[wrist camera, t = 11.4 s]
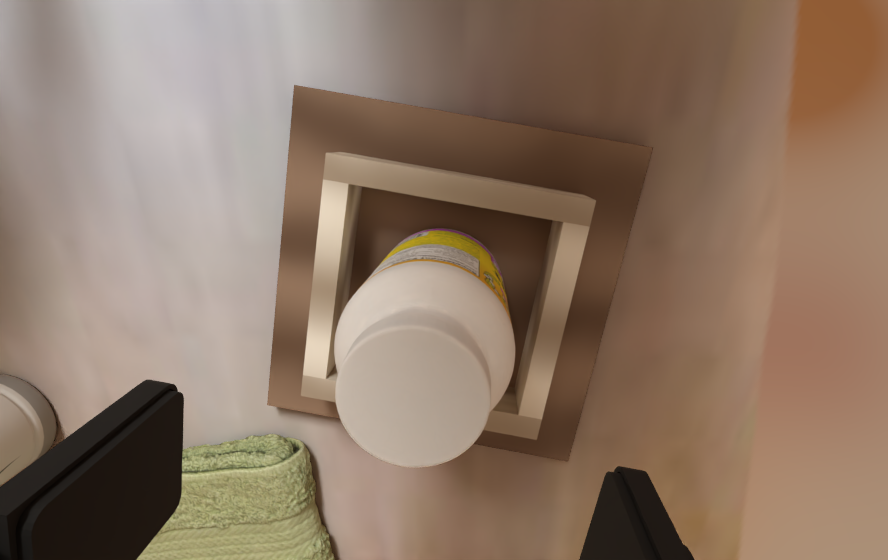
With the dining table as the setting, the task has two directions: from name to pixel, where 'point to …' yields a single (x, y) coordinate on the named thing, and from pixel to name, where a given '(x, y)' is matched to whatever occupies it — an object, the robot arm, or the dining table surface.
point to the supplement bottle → (424, 350)
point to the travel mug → (23, 426)
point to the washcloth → (245, 505)
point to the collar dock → (463, 209)
